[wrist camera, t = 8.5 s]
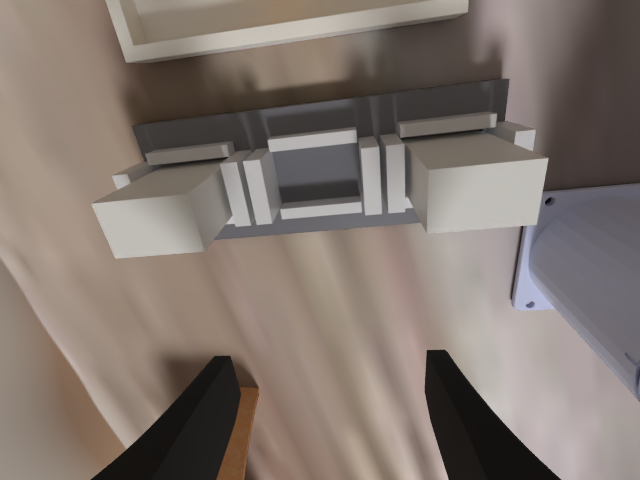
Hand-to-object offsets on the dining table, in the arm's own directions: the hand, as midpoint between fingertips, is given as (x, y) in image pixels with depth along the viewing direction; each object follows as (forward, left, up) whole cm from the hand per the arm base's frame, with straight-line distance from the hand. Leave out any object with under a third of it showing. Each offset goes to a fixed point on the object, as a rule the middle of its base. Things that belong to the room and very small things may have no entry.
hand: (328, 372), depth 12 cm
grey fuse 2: (-6, -5, -9) cm, 12 cm away
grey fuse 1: (+7, -5, -9) cm, 13 cm away
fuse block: (0, -5, -10) cm, 11 cm away
